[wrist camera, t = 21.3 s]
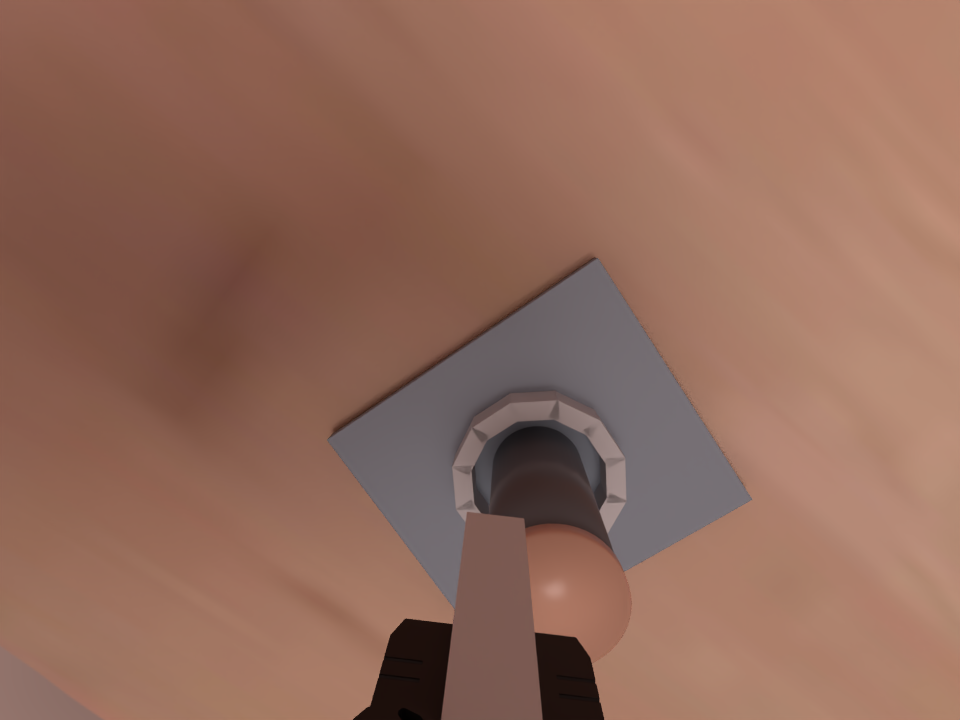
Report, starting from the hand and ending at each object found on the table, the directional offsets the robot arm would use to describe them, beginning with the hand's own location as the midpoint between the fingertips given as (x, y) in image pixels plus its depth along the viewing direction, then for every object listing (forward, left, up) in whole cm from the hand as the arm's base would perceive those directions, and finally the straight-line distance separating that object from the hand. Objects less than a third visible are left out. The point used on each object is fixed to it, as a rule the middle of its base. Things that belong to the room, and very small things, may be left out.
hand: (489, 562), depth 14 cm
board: (0, -4, -17) cm, 18 cm away
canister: (0, -4, -16) cm, 16 cm away
